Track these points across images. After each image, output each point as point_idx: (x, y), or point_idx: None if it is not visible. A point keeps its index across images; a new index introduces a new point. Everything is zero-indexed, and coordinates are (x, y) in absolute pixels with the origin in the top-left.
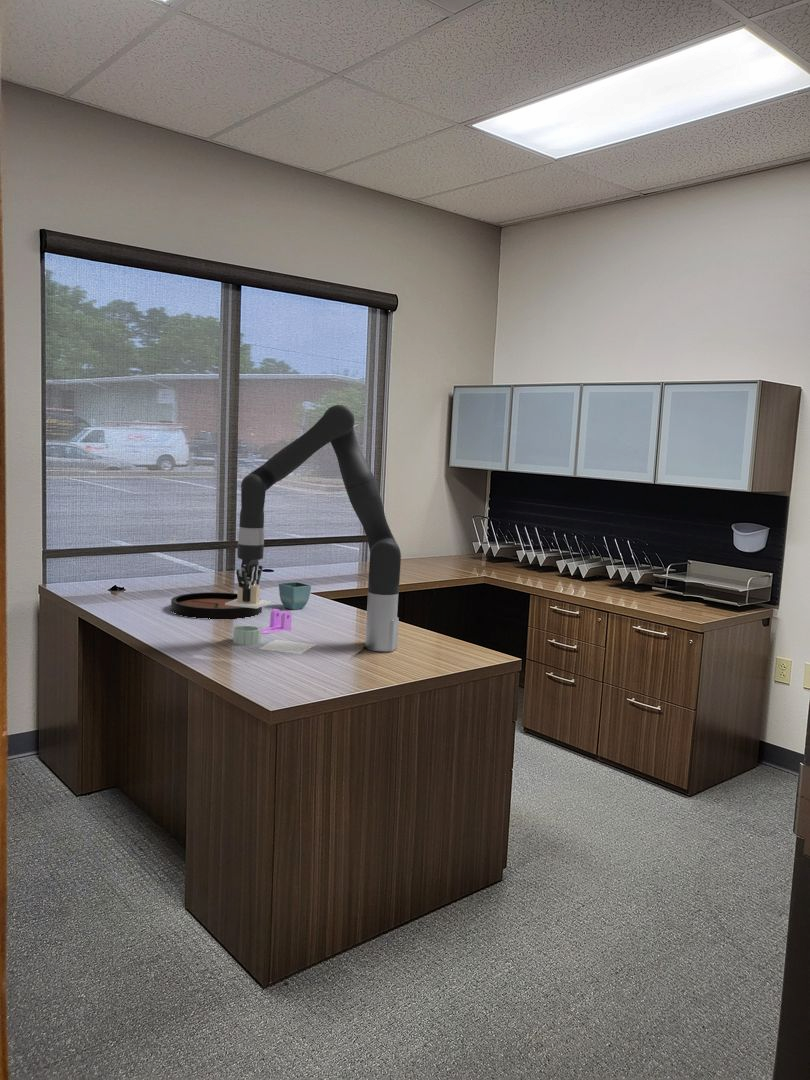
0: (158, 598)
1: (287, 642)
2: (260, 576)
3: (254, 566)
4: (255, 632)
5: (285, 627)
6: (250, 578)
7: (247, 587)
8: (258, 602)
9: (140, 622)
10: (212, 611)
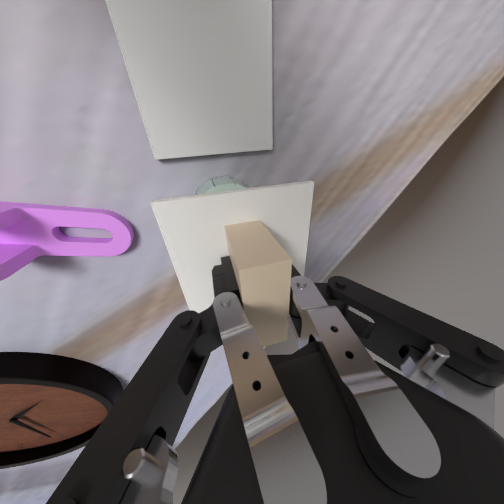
0: (62, 460)
1: (157, 103)
2: (135, 374)
3: (419, 468)
4: (243, 186)
5: (3, 207)
6: (343, 323)
7: (335, 278)
8: (233, 224)
9: (202, 382)
10: (88, 381)
